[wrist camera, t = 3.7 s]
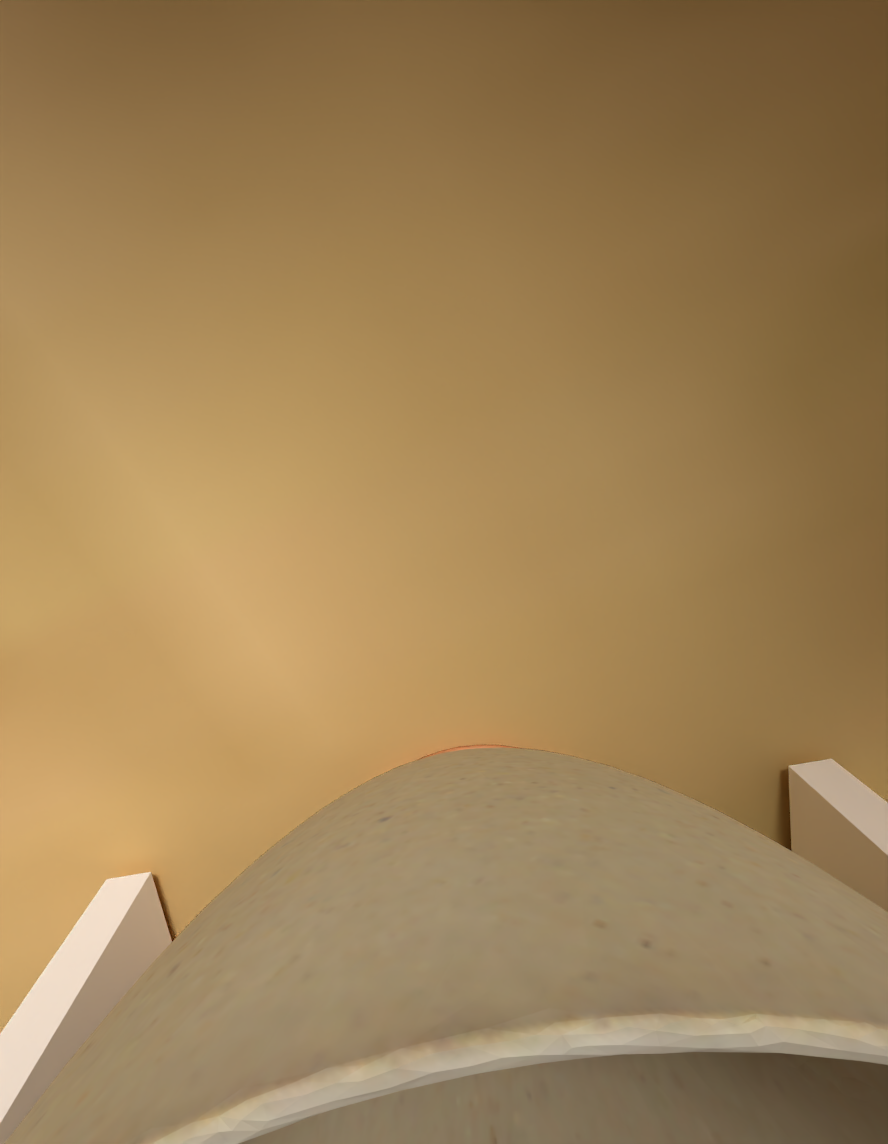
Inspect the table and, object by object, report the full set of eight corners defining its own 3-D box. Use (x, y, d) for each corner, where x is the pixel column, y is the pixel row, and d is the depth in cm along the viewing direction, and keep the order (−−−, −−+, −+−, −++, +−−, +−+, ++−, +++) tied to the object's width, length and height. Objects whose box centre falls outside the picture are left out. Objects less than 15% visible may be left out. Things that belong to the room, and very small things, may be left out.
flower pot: (319, 1172, 12) (190, 2166, 5) (83, 725, 10) (-694, 1422, 3) (817, 1014, 12) (1390, 1851, 5) (687, 514, 10) (1403, 743, 3)
